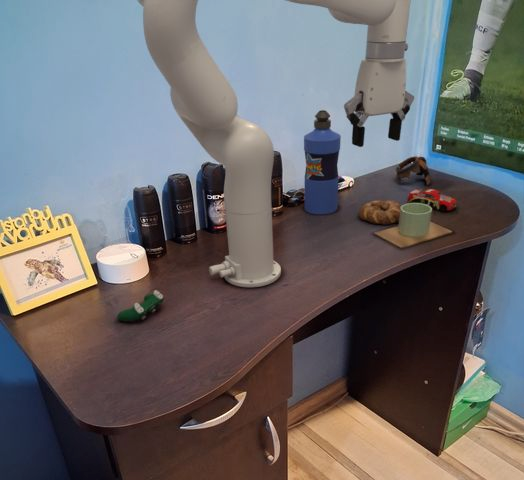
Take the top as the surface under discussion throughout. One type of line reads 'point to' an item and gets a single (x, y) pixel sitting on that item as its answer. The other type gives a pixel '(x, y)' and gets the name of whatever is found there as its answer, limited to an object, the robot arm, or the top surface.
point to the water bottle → (321, 166)
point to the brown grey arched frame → (413, 168)
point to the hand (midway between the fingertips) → (375, 142)
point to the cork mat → (402, 241)
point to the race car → (432, 199)
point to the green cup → (414, 220)
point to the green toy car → (142, 307)
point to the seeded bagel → (380, 212)
